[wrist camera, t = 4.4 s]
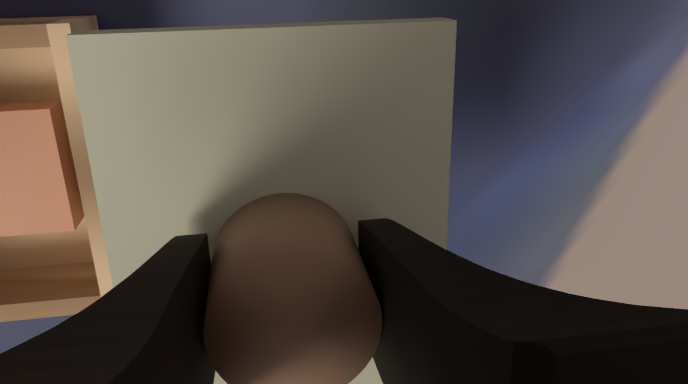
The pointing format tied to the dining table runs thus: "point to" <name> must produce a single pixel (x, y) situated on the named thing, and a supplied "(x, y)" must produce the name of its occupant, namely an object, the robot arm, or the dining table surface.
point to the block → (36, 170)
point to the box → (87, 240)
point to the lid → (271, 172)
